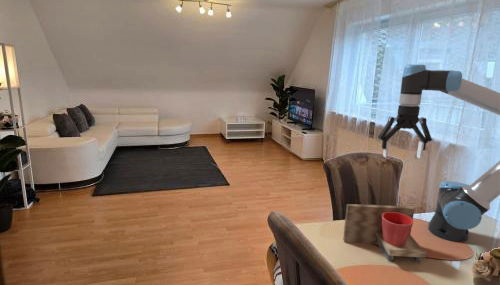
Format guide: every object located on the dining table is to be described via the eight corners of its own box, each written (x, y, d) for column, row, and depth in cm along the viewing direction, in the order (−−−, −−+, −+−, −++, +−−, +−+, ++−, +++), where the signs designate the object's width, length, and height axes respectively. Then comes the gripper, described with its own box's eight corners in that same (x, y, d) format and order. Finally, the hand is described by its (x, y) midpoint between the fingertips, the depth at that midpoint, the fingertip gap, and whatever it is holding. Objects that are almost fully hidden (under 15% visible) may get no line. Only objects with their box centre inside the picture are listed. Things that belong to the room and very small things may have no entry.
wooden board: (406, 242, 131) (412, 206, 127) (408, 245, 129) (414, 208, 125) (343, 239, 132) (346, 203, 128) (344, 242, 130) (348, 206, 126)
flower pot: (413, 250, 116) (417, 226, 114) (381, 246, 118) (385, 222, 116) (405, 235, 126) (409, 213, 124) (376, 232, 128) (379, 210, 126)
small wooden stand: (407, 245, 129) (409, 231, 128) (424, 265, 115) (427, 251, 114) (375, 243, 130) (376, 230, 128) (388, 264, 116) (390, 249, 115)
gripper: (436, 104, 127) (428, 155, 132) (373, 103, 128) (368, 153, 133) (447, 107, 120) (438, 160, 125) (380, 105, 121) (374, 158, 126)
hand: (402, 157), depth 129 cm, fingers open, 13 cm apart
